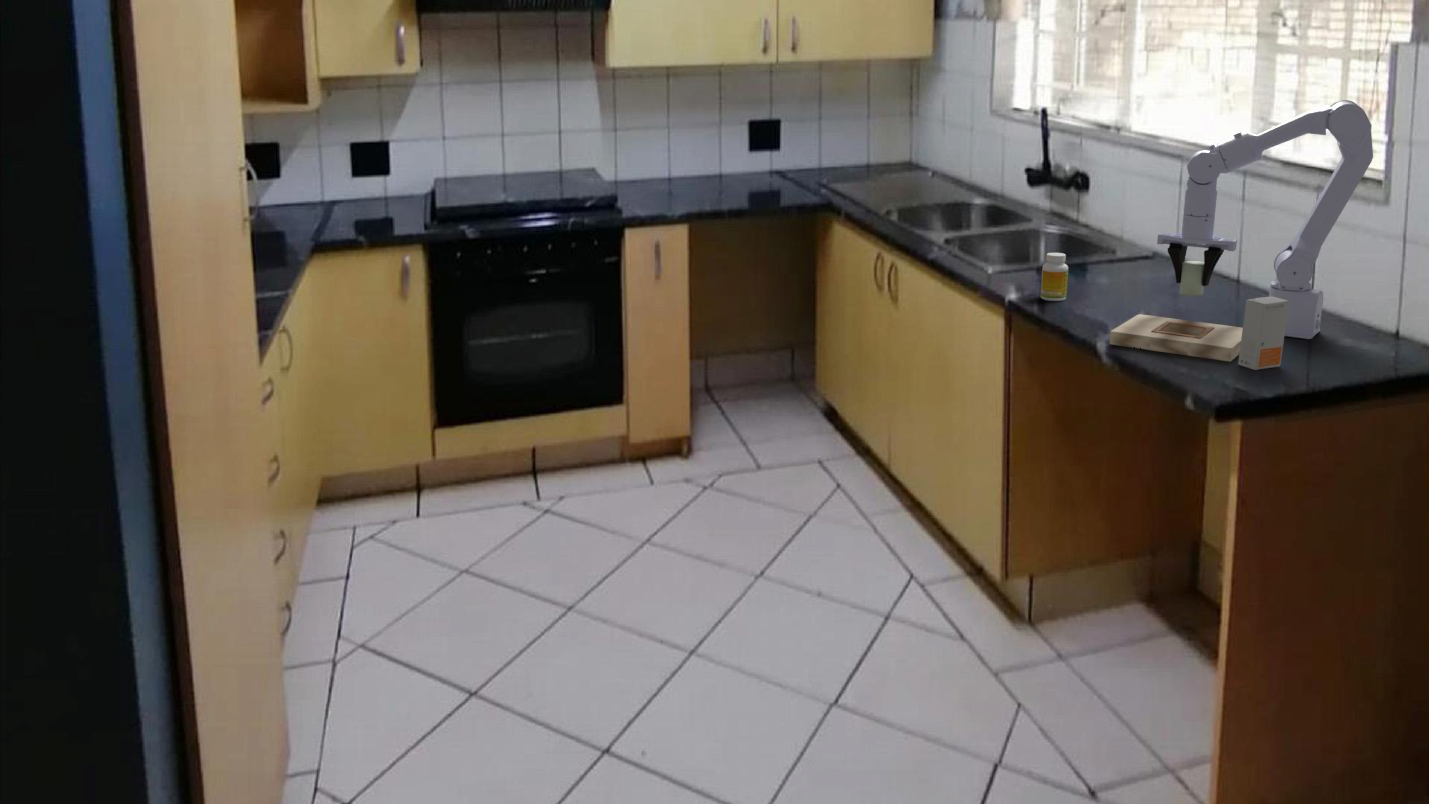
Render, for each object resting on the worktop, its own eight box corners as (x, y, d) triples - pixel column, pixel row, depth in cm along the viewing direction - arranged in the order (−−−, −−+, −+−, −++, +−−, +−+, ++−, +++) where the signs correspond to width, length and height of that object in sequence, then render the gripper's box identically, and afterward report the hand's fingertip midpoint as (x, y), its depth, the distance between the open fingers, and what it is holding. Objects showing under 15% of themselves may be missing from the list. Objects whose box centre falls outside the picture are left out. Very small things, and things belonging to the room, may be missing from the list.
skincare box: (1255, 371, 226) (1263, 304, 223) (1237, 365, 230) (1244, 299, 227) (1282, 366, 229) (1290, 300, 225) (1263, 361, 233) (1271, 295, 229)
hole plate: (1253, 342, 245) (1255, 328, 244) (1230, 361, 232) (1231, 347, 231) (1137, 326, 257) (1138, 313, 256) (1109, 344, 245) (1110, 330, 244)
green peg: (1206, 292, 256) (1209, 262, 254) (1199, 296, 252) (1202, 266, 250) (1183, 289, 258) (1186, 260, 256) (1176, 294, 255) (1179, 264, 253)
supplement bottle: (1067, 301, 278) (1070, 256, 275) (1041, 301, 279) (1044, 256, 276) (1065, 296, 283) (1068, 252, 280) (1039, 295, 284) (1042, 251, 281)
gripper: (1243, 214, 249) (1236, 284, 254) (1167, 208, 258) (1161, 275, 262) (1233, 219, 244) (1226, 290, 248) (1156, 213, 252) (1150, 282, 256)
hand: (1192, 283), depth 255 cm, fingers closed on green peg, 4 cm apart
